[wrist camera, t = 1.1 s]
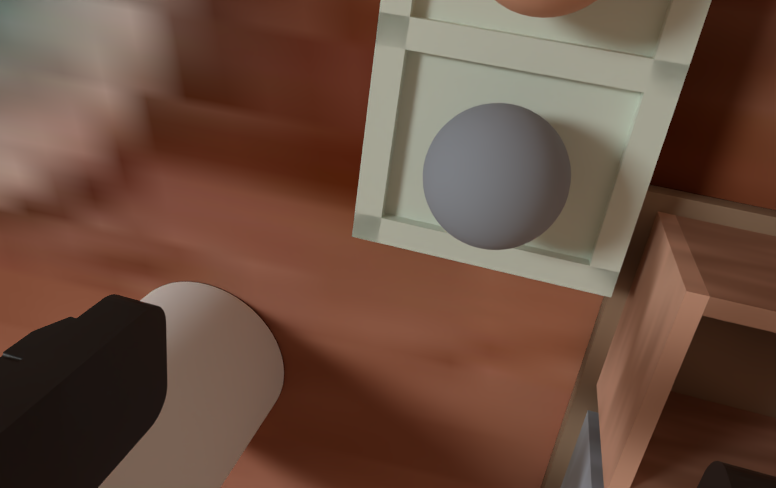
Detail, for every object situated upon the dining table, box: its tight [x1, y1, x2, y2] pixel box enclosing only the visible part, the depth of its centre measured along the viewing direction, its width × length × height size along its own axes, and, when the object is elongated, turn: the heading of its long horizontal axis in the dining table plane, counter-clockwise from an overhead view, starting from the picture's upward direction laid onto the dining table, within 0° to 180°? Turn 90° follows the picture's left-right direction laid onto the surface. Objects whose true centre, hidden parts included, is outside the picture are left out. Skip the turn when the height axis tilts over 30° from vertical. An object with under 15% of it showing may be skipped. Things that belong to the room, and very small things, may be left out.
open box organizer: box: [541, 185, 776, 488], centre depth 23 cm, size 18×9×7 cm, turn 172°
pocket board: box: [352, 0, 712, 297], centre depth 21 cm, size 15×10×2 cm, turn 172°
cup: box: [98, 282, 284, 488], centre depth 24 cm, size 8×8×16 cm
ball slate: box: [423, 103, 571, 250], centre depth 20 cm, size 4×4×4 cm
